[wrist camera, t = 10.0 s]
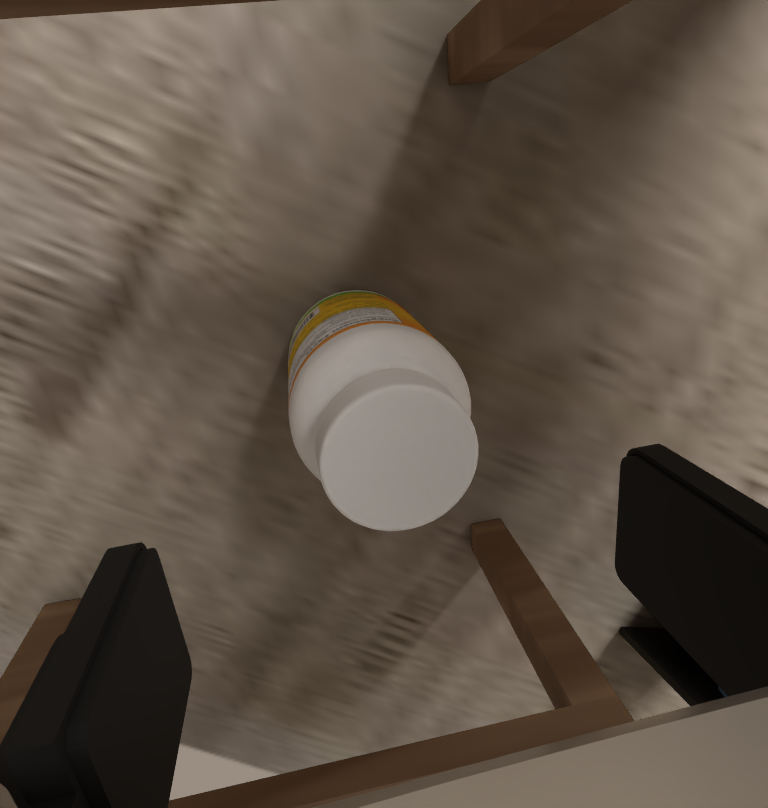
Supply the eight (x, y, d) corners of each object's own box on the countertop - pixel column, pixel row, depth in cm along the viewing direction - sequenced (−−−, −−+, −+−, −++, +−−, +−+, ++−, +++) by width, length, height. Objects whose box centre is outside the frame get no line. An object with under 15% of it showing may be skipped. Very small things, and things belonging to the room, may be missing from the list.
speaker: (687, 663, 32) (868, 843, 22) (616, 631, 30) (776, 809, 20) (762, 558, 31) (987, 697, 21) (692, 519, 29) (899, 650, 19)
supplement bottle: (428, 399, 23) (517, 527, 14) (306, 428, 23) (318, 579, 14) (408, 274, 21) (497, 331, 12) (272, 303, 21) (261, 386, 12)
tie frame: (-184, 83, 16) (-997, -112, 6) (489, 31, 18) (733, -170, 8) (55, 630, 24) (-112, 945, 14) (500, 543, 27) (632, 757, 16)
